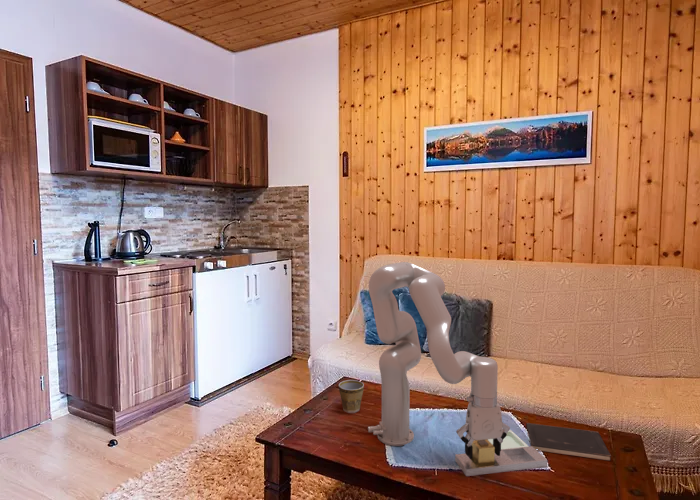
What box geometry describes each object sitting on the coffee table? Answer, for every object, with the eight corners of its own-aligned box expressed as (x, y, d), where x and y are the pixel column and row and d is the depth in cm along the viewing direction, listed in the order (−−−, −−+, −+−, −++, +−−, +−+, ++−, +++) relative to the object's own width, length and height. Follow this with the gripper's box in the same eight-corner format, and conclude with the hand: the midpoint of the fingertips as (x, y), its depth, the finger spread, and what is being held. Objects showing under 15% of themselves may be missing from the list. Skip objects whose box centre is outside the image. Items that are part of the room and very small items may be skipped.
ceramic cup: (364, 415, 165) (364, 389, 164) (338, 415, 165) (338, 389, 164) (363, 400, 178) (363, 377, 177) (339, 400, 178) (339, 377, 177)
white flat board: (466, 477, 126) (466, 469, 125) (455, 462, 133) (455, 454, 133) (547, 468, 130) (547, 460, 130) (531, 453, 138) (531, 446, 138)
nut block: (478, 471, 128) (478, 447, 127) (470, 461, 133) (471, 438, 132) (494, 469, 129) (494, 445, 128) (486, 460, 133) (486, 437, 133)
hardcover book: (611, 463, 133) (611, 455, 133) (531, 451, 140) (531, 444, 140) (597, 437, 149) (597, 430, 148) (526, 428, 155) (526, 422, 155)
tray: (497, 456, 136) (497, 450, 136) (481, 438, 147) (481, 432, 147) (529, 452, 138) (529, 446, 138) (510, 435, 149) (511, 429, 149)
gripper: (461, 407, 124) (461, 465, 125) (517, 402, 127) (516, 458, 128) (451, 396, 131) (450, 451, 132) (504, 391, 134) (502, 445, 135)
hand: (482, 454), depth 130 cm, fingers open, 8 cm apart
